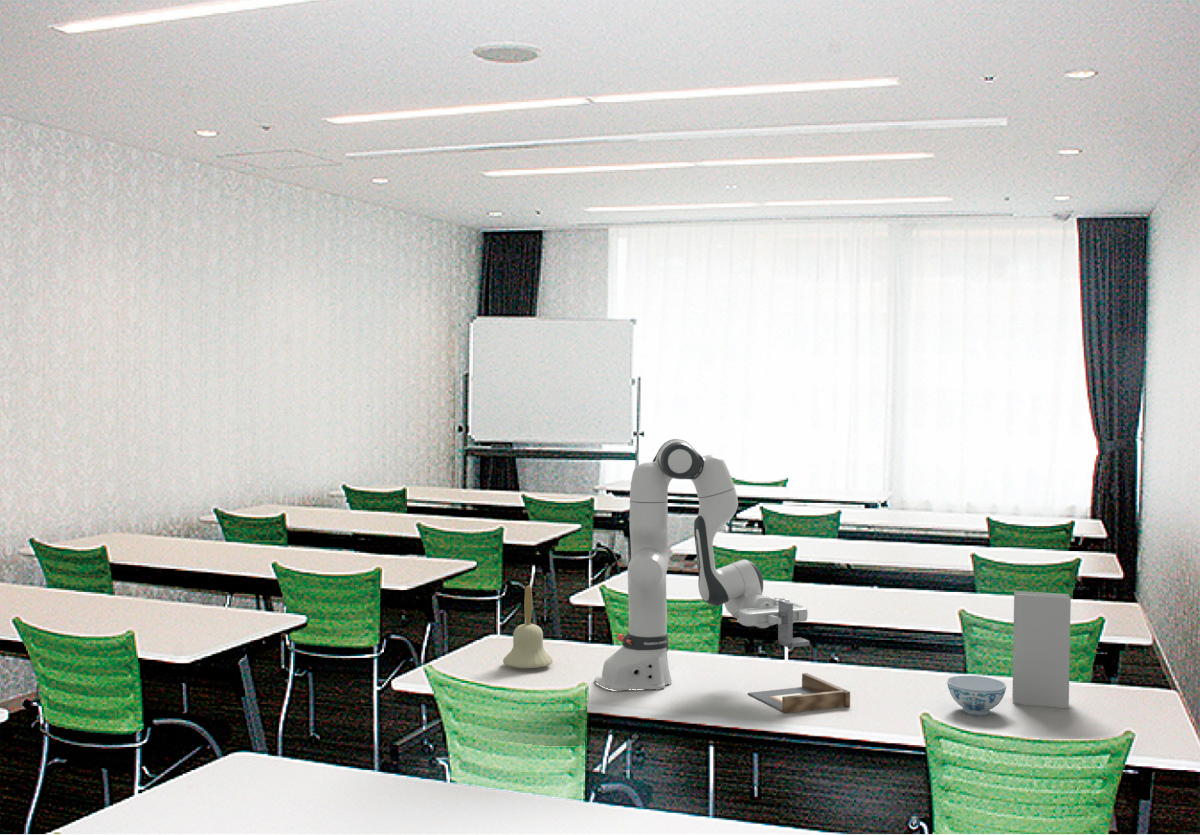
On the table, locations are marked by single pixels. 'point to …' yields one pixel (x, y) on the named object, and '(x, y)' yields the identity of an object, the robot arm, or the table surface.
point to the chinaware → (976, 693)
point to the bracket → (788, 627)
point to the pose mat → (778, 695)
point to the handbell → (528, 641)
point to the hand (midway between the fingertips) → (786, 621)
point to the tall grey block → (1041, 649)
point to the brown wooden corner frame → (816, 696)
